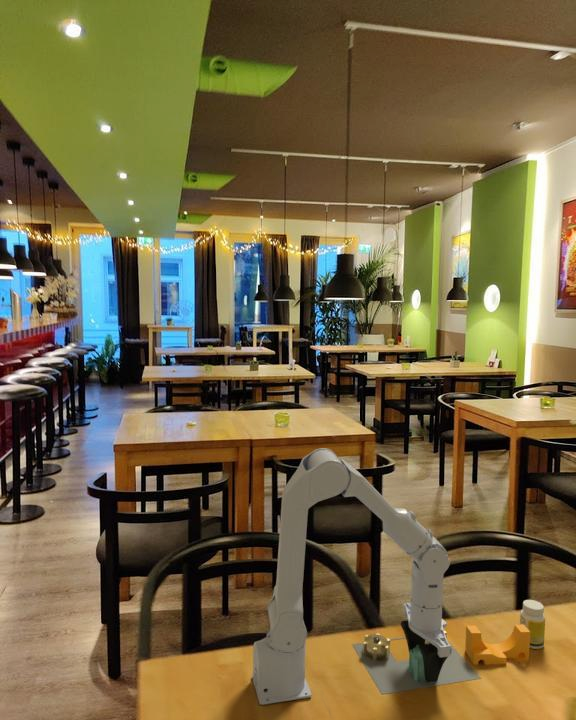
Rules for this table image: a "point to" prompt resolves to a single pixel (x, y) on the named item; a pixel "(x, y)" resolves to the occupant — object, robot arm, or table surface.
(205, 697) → the table surface
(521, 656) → the pipe clamp
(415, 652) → the teal gear
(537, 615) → the supplement bottle
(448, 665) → the gear board
